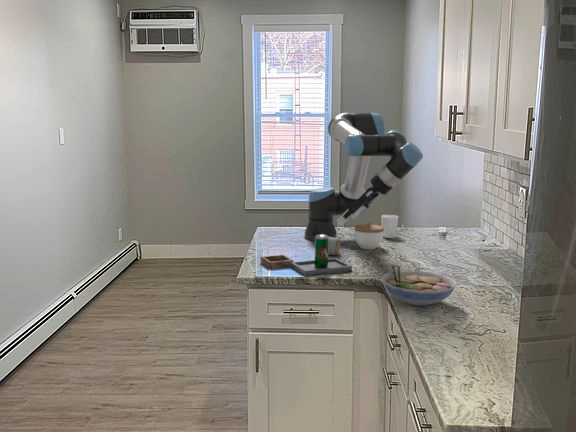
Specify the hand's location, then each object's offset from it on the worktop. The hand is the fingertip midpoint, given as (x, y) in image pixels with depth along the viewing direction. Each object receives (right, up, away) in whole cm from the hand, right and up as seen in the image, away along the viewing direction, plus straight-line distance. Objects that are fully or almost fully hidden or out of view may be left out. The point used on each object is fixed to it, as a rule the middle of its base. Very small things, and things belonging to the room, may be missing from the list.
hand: (345, 220), depth 214 cm
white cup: (+27, -9, +65) cm, 71 cm away
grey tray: (-9, -19, +5) cm, 21 cm away
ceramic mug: (-4, -15, +30) cm, 34 cm away
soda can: (-8, -18, +5) cm, 20 cm away
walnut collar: (-25, -17, +11) cm, 33 cm away
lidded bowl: (+14, -13, +43) cm, 47 cm away
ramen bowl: (+20, -26, -32) cm, 45 cm away
